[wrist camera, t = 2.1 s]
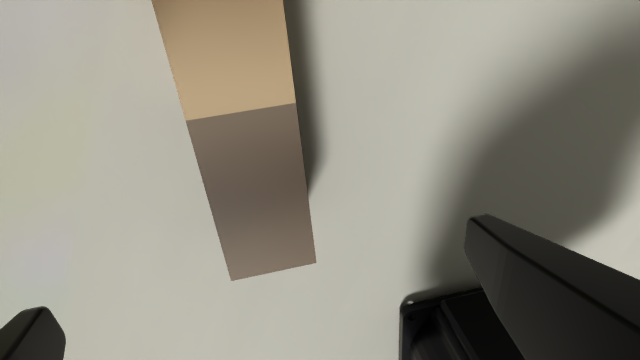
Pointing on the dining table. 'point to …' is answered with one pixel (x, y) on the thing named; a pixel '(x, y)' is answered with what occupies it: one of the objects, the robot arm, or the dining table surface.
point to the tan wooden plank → (242, 127)
